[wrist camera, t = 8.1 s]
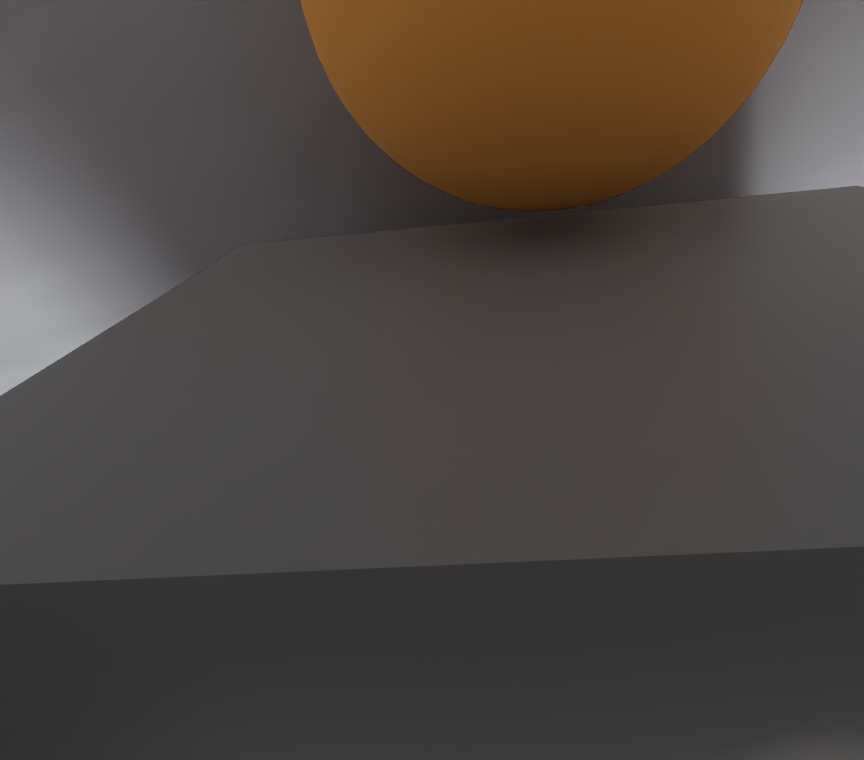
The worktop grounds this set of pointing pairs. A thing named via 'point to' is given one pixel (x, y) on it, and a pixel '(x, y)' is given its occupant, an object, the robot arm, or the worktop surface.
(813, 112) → the worktop surface
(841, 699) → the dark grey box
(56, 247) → the worktop surface
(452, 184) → the ball
